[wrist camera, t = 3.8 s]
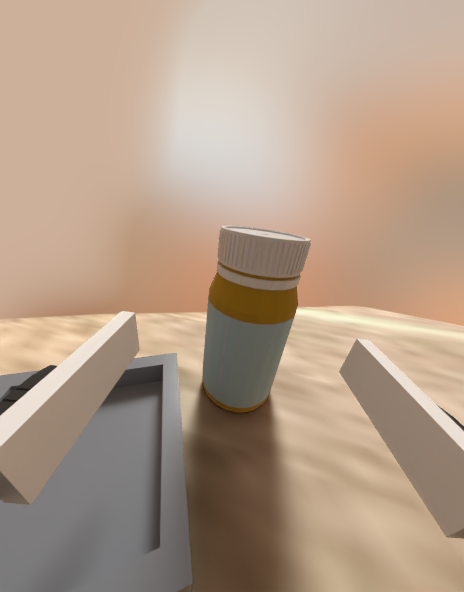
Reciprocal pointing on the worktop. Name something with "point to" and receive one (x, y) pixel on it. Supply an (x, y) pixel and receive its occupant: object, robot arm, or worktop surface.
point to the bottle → (250, 313)
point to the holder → (109, 497)
